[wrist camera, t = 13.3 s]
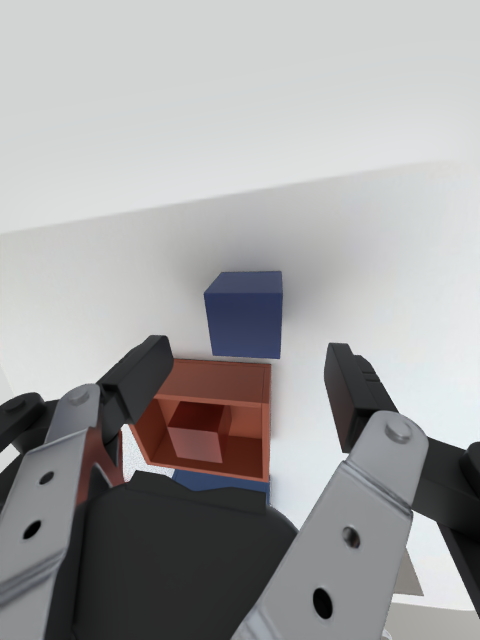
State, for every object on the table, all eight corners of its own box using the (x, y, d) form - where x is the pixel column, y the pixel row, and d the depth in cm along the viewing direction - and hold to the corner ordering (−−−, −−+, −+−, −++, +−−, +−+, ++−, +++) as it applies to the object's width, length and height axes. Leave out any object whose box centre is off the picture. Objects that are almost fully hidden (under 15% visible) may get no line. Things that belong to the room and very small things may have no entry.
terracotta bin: (166, 427, 27) (146, 464, 23) (141, 356, 22) (111, 389, 18) (270, 439, 25) (268, 483, 21) (271, 364, 19) (269, 403, 15)
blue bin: (190, 499, 36) (180, 535, 32) (177, 461, 30) (163, 499, 26) (269, 513, 33) (268, 553, 29) (269, 475, 28) (268, 518, 24)
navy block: (226, 323, 18) (212, 355, 14) (221, 272, 16) (203, 293, 12) (279, 325, 17) (280, 359, 13) (281, 271, 15) (282, 293, 11)
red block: (193, 416, 24) (177, 457, 20) (186, 387, 22) (166, 426, 18) (231, 420, 23) (222, 463, 19) (228, 391, 21) (217, 432, 17)
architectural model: (256, 543, 40) (246, 691, 28) (406, 548, 32) (487, 763, 19) (294, 583, 48) (300, 714, 35) (424, 596, 39) (490, 773, 27)
